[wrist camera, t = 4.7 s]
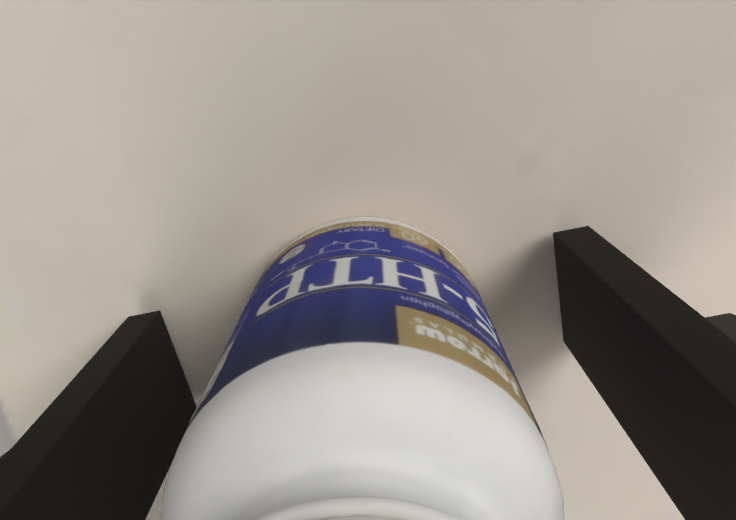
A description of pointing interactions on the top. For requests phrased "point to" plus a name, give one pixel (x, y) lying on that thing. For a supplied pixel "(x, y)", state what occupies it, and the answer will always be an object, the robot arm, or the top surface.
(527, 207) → the top surface
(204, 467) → the pill bottle
